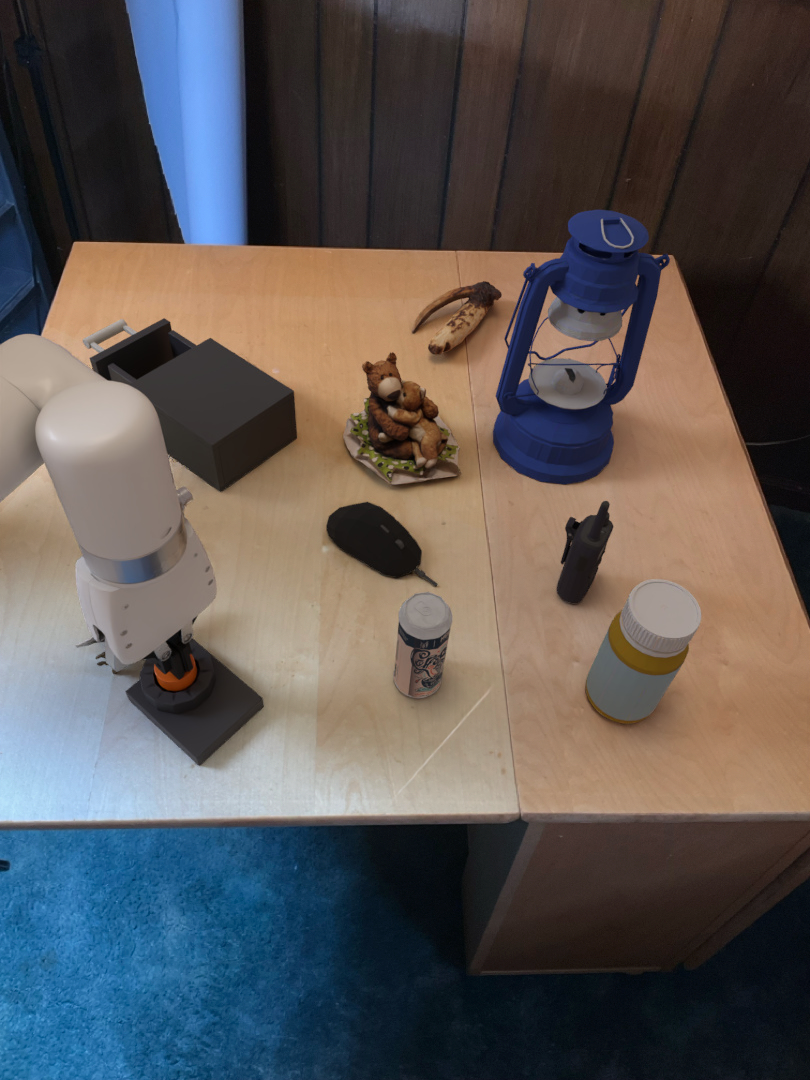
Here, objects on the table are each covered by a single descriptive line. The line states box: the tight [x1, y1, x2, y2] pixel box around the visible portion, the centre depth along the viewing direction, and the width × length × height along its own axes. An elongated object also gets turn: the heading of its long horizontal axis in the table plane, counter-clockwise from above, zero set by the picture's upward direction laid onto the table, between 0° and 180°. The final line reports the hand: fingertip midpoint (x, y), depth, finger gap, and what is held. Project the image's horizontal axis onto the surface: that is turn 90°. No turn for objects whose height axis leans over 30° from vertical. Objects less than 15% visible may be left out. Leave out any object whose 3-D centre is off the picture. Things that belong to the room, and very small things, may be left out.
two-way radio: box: [556, 500, 614, 605], centre depth 82 cm, size 6×4×15 cm
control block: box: [125, 637, 265, 767], centre depth 75 cm, size 10×8×4 cm
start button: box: [154, 654, 197, 691], centre depth 74 cm, size 4×4×2 cm
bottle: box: [585, 578, 702, 725], centre depth 74 cm, size 7×7×15 cm
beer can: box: [392, 591, 454, 699], centre depth 75 cm, size 5×5×12 cm
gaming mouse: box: [326, 501, 439, 588], centre depth 88 cm, size 6×15×4 cm, turn 51°
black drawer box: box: [129, 337, 298, 493], centre depth 97 cm, size 15×13×8 cm
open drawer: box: [82, 317, 198, 385], centre depth 101 cm, size 19×11×6 cm, turn 50°
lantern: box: [492, 209, 671, 485], centre depth 91 cm, size 17×15×30 cm
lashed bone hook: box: [411, 280, 502, 356], centre depth 115 cm, size 9×5×18 cm
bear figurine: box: [342, 351, 462, 485], centre depth 95 cm, size 14×15×12 cm
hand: (175, 664), depth 73 cm, fingers closed
